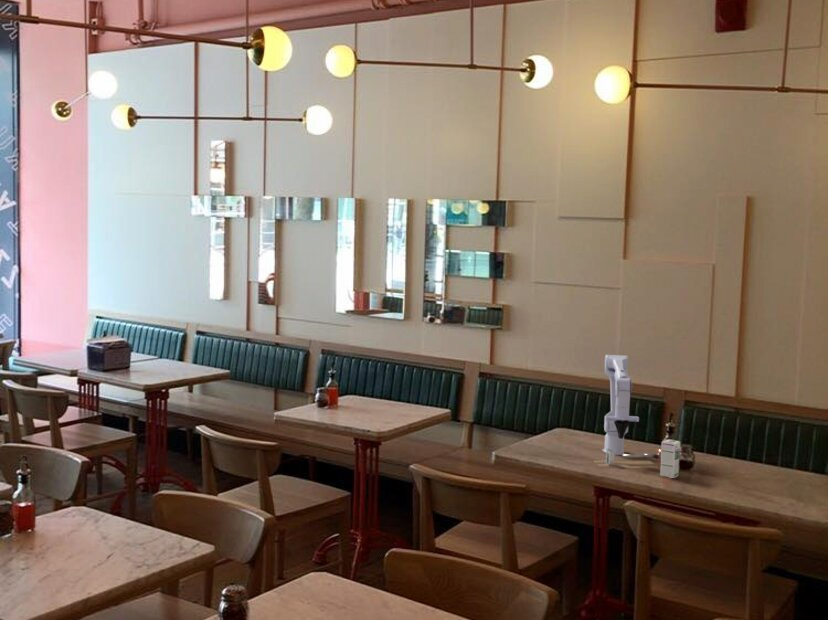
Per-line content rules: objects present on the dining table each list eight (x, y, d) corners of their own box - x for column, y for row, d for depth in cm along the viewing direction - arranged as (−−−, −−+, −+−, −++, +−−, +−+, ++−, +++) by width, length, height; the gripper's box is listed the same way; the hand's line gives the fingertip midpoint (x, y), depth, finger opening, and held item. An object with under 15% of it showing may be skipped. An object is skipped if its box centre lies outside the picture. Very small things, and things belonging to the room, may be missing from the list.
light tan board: (592, 461, 401) (592, 460, 401) (648, 461, 404) (648, 460, 404) (601, 469, 389) (601, 467, 389) (659, 468, 392) (659, 467, 392)
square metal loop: (603, 462, 398) (604, 448, 398) (610, 462, 399) (611, 448, 398) (608, 465, 392) (609, 452, 392) (615, 465, 393) (616, 452, 392)
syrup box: (673, 479, 377) (675, 443, 376) (659, 476, 381) (661, 440, 379) (678, 476, 382) (681, 441, 380) (664, 473, 385) (667, 438, 384)
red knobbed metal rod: (624, 465, 393) (625, 451, 393) (619, 461, 399) (620, 447, 398) (665, 465, 396) (666, 451, 395) (659, 461, 401) (660, 447, 401)
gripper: (609, 408, 394) (607, 440, 395) (642, 408, 396) (640, 440, 397) (603, 404, 401) (601, 436, 402) (636, 405, 403) (634, 436, 404)
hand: (620, 438), depth 400 cm, fingers closed
